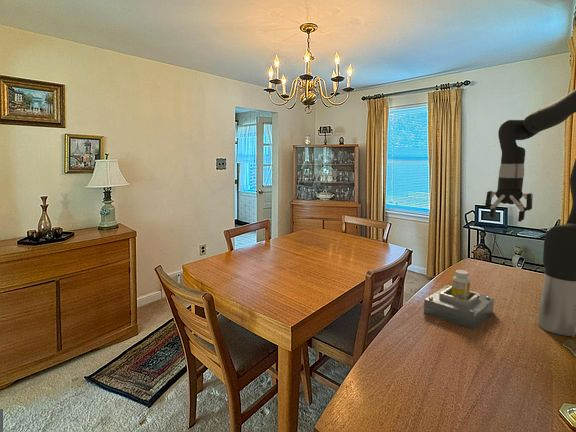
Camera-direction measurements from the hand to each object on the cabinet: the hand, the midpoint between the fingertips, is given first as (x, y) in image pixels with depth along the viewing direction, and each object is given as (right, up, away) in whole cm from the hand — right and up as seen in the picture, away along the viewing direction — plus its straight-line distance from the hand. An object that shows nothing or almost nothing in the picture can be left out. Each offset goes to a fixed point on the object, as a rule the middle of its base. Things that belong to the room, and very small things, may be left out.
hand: (506, 219), depth 119 cm
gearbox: (-22, -32, -8) cm, 40 cm away
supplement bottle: (-22, -27, -9) cm, 36 cm away
